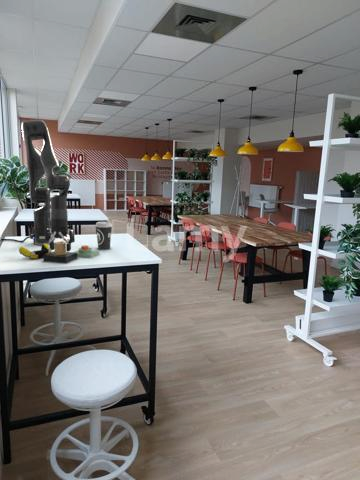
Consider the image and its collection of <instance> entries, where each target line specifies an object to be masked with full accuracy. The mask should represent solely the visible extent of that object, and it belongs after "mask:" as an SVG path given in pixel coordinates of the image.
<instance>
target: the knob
mask: <svg viewBox="0 0 360 480" xmlns="http://www.w3.org/2000/svg"><path fill="white" fill-rule="evenodd" d="M66 244H67V243H66V242H65V241H64V240H61V241H56V242H55V241H54V251H55V255H65V254H66V252H67V251H66Z"/></svg>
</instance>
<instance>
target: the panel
mask: <svg viewBox="0 0 360 480" xmlns="http://www.w3.org/2000/svg"><path fill="white" fill-rule="evenodd" d="M73 252H74V251H72V252H71V251H69V252H67V251H66V254H65V255H55V250H53V251H51V253H48V254H45V255H43V257H42V258H43V262H48V263H58V264H68V263H70V262H73V261H75V260H77V259H78V257H77V253H73Z"/></svg>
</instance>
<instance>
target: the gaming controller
mask: <svg viewBox="0 0 360 480" xmlns="http://www.w3.org/2000/svg"><path fill="white" fill-rule="evenodd" d="M51 252H52V250H51V249H50V245H49V244H48V245H47V244H45V243H44V244H42V245H41V248H40V249H38V250H32V251H30V250H29V249H27V248H26V247H24V246H20V247H19V248H18V253H19V254H20V255H22V256H23V257H26V258H28V259H29V260H35V259H41V258H43V255H45V254H48V253H51Z"/></svg>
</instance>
